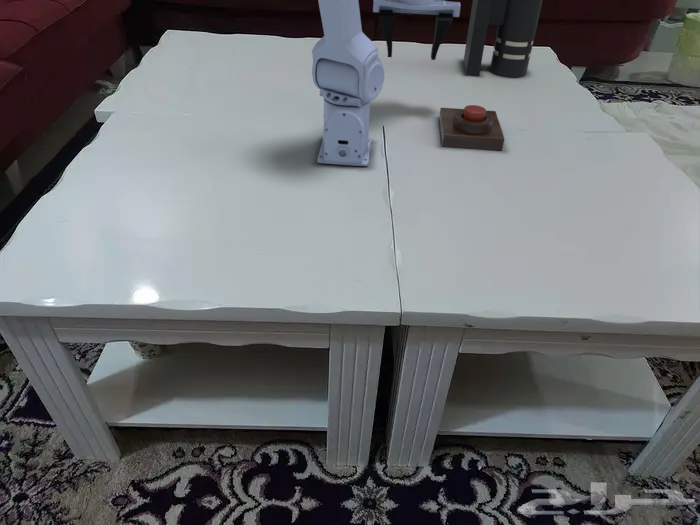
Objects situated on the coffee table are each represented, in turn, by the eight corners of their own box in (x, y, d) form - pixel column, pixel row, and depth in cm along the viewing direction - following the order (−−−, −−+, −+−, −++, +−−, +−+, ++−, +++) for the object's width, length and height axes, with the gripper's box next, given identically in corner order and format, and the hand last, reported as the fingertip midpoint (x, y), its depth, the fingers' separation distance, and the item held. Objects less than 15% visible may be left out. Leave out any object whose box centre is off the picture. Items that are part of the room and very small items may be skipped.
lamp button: (485, 123, 96) (487, 113, 94) (463, 122, 96) (465, 112, 95) (482, 115, 98) (484, 105, 97) (461, 114, 99) (463, 104, 98)
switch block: (502, 150, 96) (506, 128, 93) (442, 146, 96) (445, 124, 94) (493, 122, 105) (497, 101, 103) (438, 118, 106) (441, 97, 103)
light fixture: (529, 80, 125) (549, -9, 114) (466, 75, 126) (480, -13, 115) (522, 65, 133) (541, -19, 122) (463, 61, 134) (476, -23, 123)
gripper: (462, -30, 96) (450, 52, 105) (376, -35, 97) (371, 47, 105) (466, -22, 91) (453, 64, 99) (374, -27, 91) (369, 59, 99)
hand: (411, 56), depth 102 cm, fingers open, 7 cm apart
